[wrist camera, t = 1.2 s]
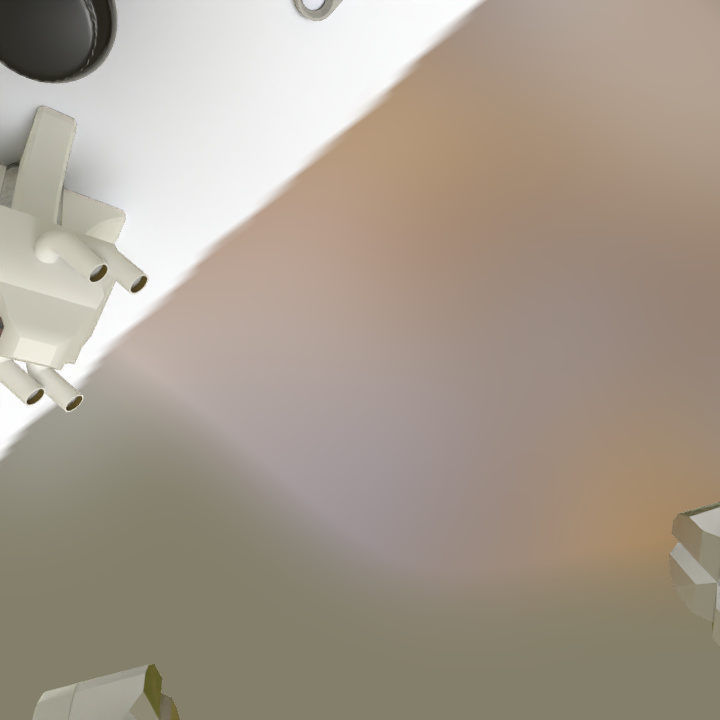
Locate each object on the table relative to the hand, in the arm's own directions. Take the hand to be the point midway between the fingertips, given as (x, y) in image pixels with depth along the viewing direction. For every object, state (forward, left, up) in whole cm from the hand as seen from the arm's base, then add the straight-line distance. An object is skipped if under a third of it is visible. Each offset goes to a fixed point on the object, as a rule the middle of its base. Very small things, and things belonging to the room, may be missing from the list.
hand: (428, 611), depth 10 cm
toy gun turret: (+7, -13, -42) cm, 44 cm away
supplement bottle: (-4, -6, -42) cm, 42 cm away
